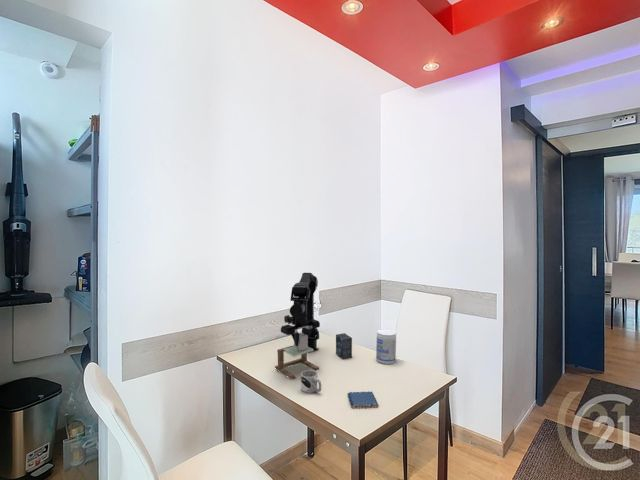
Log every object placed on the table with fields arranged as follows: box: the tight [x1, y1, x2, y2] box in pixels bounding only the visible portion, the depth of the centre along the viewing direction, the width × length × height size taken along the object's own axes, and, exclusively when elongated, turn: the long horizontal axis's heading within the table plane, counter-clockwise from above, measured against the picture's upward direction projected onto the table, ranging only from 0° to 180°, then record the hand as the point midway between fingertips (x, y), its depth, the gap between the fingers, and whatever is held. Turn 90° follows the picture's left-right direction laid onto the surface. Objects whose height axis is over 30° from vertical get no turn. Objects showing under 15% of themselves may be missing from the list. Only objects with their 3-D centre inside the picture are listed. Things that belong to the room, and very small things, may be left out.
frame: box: [274, 344, 320, 380], centre depth 156 cm, size 14×16×10 cm
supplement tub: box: [375, 328, 397, 365], centre depth 165 cm, size 10×10×15 cm
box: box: [335, 332, 353, 360], centre depth 172 cm, size 8×6×11 cm
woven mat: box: [347, 390, 380, 410], centre depth 127 cm, size 10×11×2 cm
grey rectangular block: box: [293, 332, 308, 350], centre depth 153 cm, size 4×4×6 cm
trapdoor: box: [283, 345, 314, 357], centre depth 155 cm, size 9×11×1 cm
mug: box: [300, 369, 322, 394], centre depth 136 cm, size 10×7×7 cm, turn 47°
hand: (300, 344), depth 153 cm, fingers closed on grey rectangular block, 4 cm apart
